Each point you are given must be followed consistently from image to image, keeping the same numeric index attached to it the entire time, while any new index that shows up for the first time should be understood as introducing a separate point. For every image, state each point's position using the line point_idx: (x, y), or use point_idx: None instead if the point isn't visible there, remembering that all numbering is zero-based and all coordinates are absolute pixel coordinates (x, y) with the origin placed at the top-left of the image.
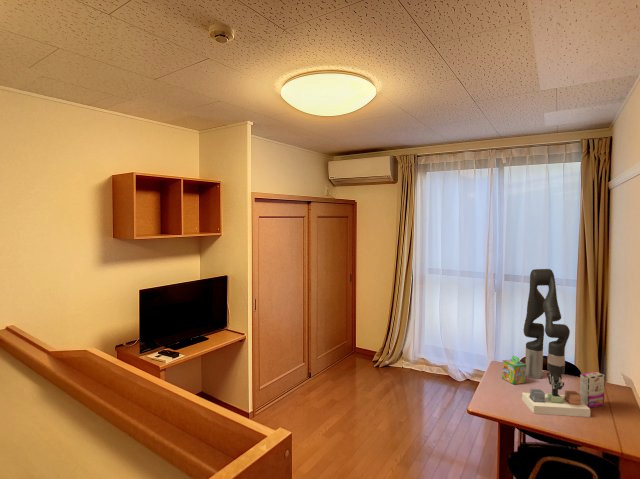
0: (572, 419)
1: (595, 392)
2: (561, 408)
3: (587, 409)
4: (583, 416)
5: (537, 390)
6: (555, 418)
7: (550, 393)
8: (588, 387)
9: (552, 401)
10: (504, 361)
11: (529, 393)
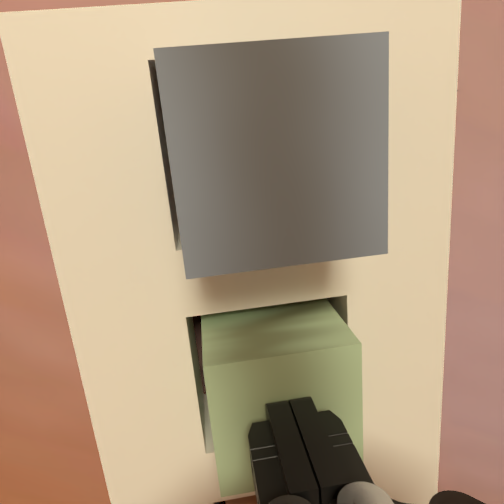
0: (50, 421)
1: None
2: (89, 392)
3: None
4: None
5: (309, 172)
6: (7, 268)
7: (347, 382)
8: None
9: (203, 341)
10: None
11: (441, 102)
